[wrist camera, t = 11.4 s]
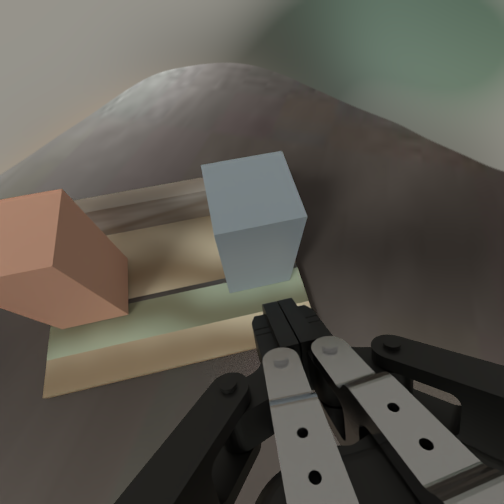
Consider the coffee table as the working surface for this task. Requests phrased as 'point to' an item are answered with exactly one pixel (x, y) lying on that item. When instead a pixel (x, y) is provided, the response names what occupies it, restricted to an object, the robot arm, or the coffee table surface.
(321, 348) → the robot arm
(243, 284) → the grey blue rectangular block
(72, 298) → the reddish brown block
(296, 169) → the coffee table surface
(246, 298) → the wooden tray
